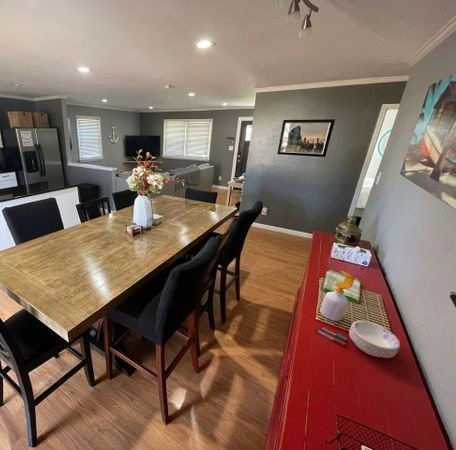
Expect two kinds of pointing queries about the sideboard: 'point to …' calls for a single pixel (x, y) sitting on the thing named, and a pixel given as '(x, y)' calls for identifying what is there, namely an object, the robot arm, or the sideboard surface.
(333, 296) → the soap bottle
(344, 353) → the sideboard surface
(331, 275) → the dish towel
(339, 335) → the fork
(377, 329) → the paper bowls
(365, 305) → the sideboard surface
